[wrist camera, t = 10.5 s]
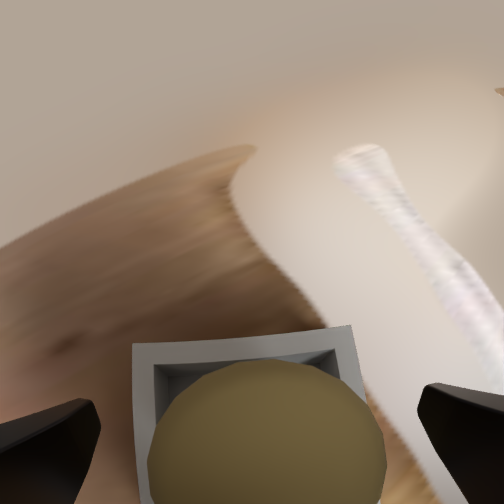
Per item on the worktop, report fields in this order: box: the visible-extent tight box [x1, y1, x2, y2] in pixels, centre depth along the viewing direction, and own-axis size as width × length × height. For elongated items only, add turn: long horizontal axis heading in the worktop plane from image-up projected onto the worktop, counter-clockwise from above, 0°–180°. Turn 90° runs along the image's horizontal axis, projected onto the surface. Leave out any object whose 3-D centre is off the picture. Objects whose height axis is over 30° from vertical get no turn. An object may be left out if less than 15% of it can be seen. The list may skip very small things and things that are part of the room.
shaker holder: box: [132, 325, 380, 504], centre depth 13 cm, size 11×11×4 cm
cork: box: [147, 359, 387, 504], centre depth 9 cm, size 6×6×11 cm
